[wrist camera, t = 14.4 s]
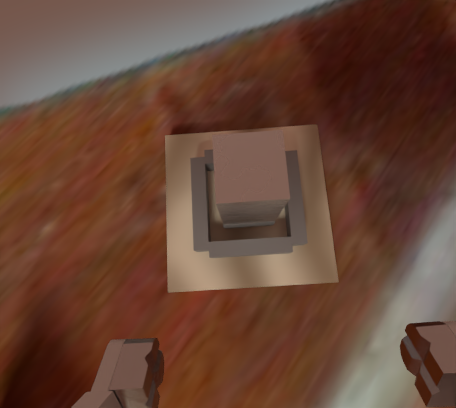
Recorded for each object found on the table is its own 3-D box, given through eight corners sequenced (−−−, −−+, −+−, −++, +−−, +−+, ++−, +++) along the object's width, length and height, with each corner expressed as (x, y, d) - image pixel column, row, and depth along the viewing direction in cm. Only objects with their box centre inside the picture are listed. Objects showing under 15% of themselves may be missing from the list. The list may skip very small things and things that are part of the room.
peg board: (313, 131, 29) (323, 113, 26) (333, 281, 26) (346, 283, 23) (168, 142, 30) (159, 125, 26) (171, 291, 27) (161, 294, 23)
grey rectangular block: (268, 180, 27) (283, 129, 17) (272, 226, 26) (291, 199, 16) (221, 183, 27) (211, 134, 17) (224, 229, 26) (214, 204, 17)
